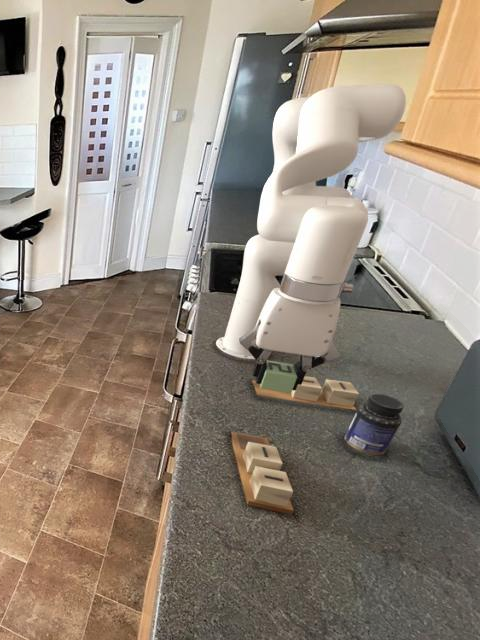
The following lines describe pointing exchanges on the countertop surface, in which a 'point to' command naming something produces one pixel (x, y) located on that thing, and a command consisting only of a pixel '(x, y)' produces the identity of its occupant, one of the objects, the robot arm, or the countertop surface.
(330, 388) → the word
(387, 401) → the pill bottle
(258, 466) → the word
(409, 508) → the countertop surface
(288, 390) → the green number cube
